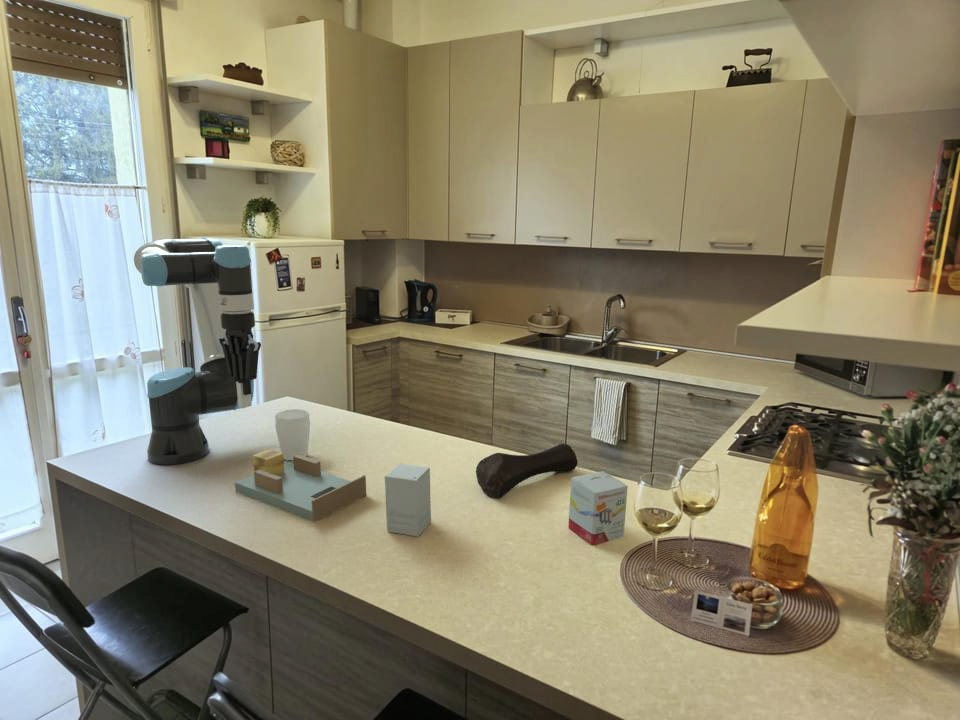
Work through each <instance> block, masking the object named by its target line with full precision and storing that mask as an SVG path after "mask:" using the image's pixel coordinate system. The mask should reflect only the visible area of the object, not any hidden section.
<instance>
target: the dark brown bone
mask: <svg viewBox="0 0 960 720" xmlns="http://www.w3.org/2000/svg"><path fill="white" fill-rule="evenodd" d="M577 466H578V459H577V455H576V453H575V451H574V450H573V448H572V447H571V445H569V444H568V443H559V444H557V445H555V446H552V447H551V448H548V449H546V450H543V451H540V452H536V453H532V454H525V455H523V454H522V455H521V454H519V455H517V454H510V453H502V452H496V453H495V452H494V453H493V454H492V453H491V454H490V455H488V456H486V457H484V458H483V459H481V460H480V461H479V462H478V463H477V465H476V468H475V474H476V479H477V483H478V485H479V487H480V489H481V490H482V492H483V493H484V494H485V495H486V496H487V497H489V498H493V499H497V500H499V499H502V498H503V497H504V496H505V495H507V494H508V493H509V492H510V491H511V490H512V489H514V488H515V487H517V486H518V485H519V484H521V483H522V482H524V481H526V480H528V479H530V478H532V477H535V476H537V475H542V474H545V473H553V472H554V473H556V472H562V473H563V472H564V473H567V472H568V473H569V472H573V471H574V470H575V469H576V468H577Z"/></svg>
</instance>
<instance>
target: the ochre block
mask: <svg viewBox="0 0 960 720" xmlns="http://www.w3.org/2000/svg"><path fill="white" fill-rule="evenodd" d="M252 459H253V460H252V462H253V464H252V465H253V473H254V472H255V471H257V470H262V471H265V472H268V473H270V474H273V475H276V476H277V475H280V474H282V473H284V463H285V461H284V460H285V459H284V457H283V453H281V451H277V450H274V449H271V448H270V449H266V450H264V451H262V452H261V451H260V452H258V453H256V454H253V455H252Z"/></svg>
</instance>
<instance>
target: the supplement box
mask: <svg viewBox="0 0 960 720" xmlns="http://www.w3.org/2000/svg"><path fill="white" fill-rule="evenodd" d="M430 468H431V467H429V466H419V465H412V464H404V463H399V464H397V465H396V466H395V467H394V468H393V469H392V470H390V471H389V472H388V473H387V474H386V475H384V489H385V512H386V513H385V514H386V517H385V518H386V531H387V532H388V533H394V534H400V535H406V536H412V537H416V538H417V537H419V536H420V535H421V534H422V533H423V532H424V530H425V529H426V528H427V527H428V526H429V525H430V523H431V521H432V508H431V507H432V505H431V469H430ZM421 532H422V533H421Z"/></svg>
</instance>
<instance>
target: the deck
mask: <svg viewBox="0 0 960 720" xmlns="http://www.w3.org/2000/svg"><path fill="white" fill-rule="evenodd" d="M366 479H367V477H366V475H365V474H364V475H362V476H359V477H357V478H355V479H353V480H349V479H345V478H343V477H339V476H337V475H333V474H330V473H327V472H324V471H322V470H321V461H320V460H316V459H313V458H310V457H307V456H306V457H304V456H301V455H295V456H293V461H289V460H286V461H284V473H282V474H280V475H277V476H276V475H273V474H270V473H268V472H265V471H262V470H257V471H255V472H254V471H253V474H252V475H250V476H248V477H244V478H242V479H240V480H238V481H235V482H234V488H235V492H236V493H238V494H241V495H243V496H245V497H248V498H251V499H252V500H256V501H259V502H261V503H263V504H266V505H269V506H271V507H274V508H277V509H279V510H281V511H284V512H287V513H290V514H292V515H294V516H297V517H299V518H302V519H305V520H308V521H310V522H313V523H316V522H318V521H320V520H322V519H323V518H326V517H327V516H329V515H331V514H333V513H335V512H337V511H339V510H341V509H343V508H346V507H347V506H349V505H351V504H353V503H355V502H356V501H358V500H361V499H363V498H364V497H366V496H367V482H366V481H367V480H366Z"/></svg>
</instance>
